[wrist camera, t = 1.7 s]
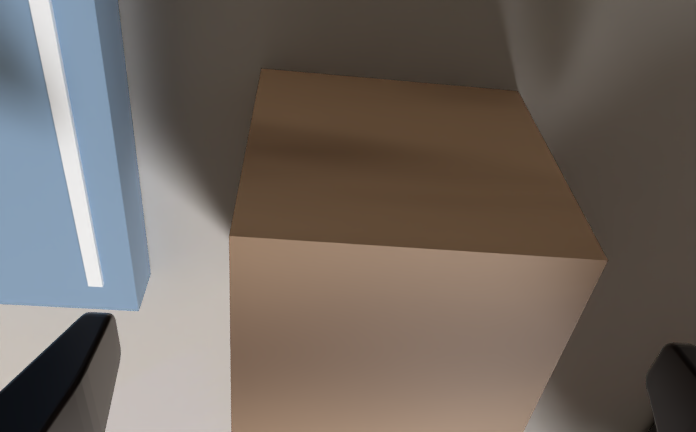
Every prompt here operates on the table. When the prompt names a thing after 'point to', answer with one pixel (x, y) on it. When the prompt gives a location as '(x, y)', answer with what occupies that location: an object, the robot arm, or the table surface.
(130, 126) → the board
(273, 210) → the walnut block
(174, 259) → the table surface
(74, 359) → the robot arm
